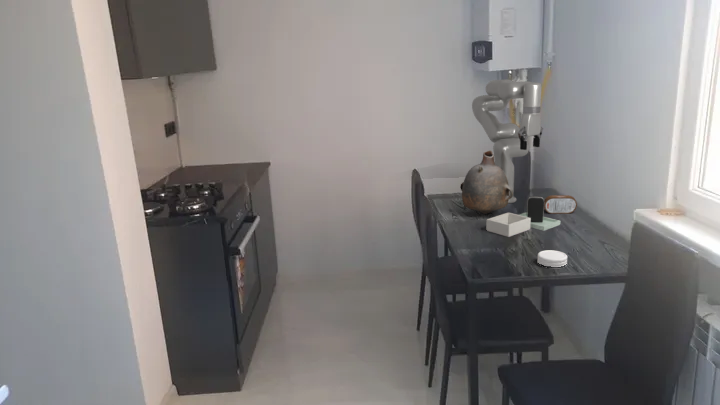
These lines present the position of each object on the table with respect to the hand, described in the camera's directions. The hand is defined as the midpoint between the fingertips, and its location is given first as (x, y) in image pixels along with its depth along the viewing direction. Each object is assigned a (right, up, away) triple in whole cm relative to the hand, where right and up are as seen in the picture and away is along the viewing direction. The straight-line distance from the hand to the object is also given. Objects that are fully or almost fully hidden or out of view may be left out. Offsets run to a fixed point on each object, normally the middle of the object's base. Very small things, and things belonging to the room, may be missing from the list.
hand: (529, 148), depth 246 cm
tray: (-1, -34, -10) cm, 35 cm away
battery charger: (-1, -33, -9) cm, 35 cm away
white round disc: (-9, -47, -54) cm, 73 cm away
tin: (+15, -30, +3) cm, 34 cm away
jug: (-19, -31, +7) cm, 37 cm away
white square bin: (-15, -37, -17) cm, 43 cm away
